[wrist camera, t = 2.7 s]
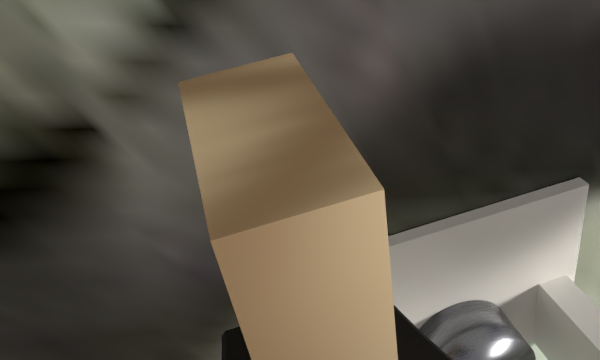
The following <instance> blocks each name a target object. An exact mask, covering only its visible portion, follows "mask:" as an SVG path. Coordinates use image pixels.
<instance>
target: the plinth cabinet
mask: <svg viewBox="0 0 600 360" xmlns="http://www.w3.org/2000/svg"><path fill="white" fill-rule="evenodd" d="M533 342H534V343H535V344H536V345H537V347H538V348H539V349H540V350H541V352H542V353H543V354H544V355H545V357H546V358H547V359H548V360H600V309H599V308H598V307H597V306H596V305H595V304H594V303H593V302H592V301H591V300H590V299H589V298H588V297H587V296H586V295H585V293H584V292H583V291H582V290H581V289H580V288H579V287H578V286H577V285H576V284H575V283H574V282H573V281H572V280H571V279H570V278H569V277H568V276H567V275H564V276H561V277H558V278H555V279H552V280H549V281H546V282H543V283H540V284H539V286H538V295H537V305H536V314H535V323H534V333H533Z"/></svg>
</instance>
